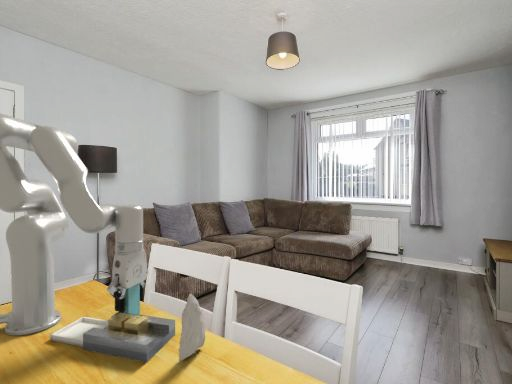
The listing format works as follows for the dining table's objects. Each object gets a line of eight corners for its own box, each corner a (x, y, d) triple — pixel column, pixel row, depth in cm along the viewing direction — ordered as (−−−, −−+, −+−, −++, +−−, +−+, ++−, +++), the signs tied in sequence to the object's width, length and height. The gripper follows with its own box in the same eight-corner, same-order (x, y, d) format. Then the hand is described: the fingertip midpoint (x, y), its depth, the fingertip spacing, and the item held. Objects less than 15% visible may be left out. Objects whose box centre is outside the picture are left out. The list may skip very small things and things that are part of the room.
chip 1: (108, 335, 70) (108, 319, 70) (119, 327, 74) (119, 312, 74) (121, 337, 69) (121, 321, 69) (132, 329, 73) (132, 314, 73)
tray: (50, 340, 71) (50, 334, 71) (83, 321, 81) (83, 316, 81) (84, 347, 68) (84, 341, 68) (115, 326, 78) (114, 321, 78)
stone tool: (184, 367, 61) (184, 301, 61) (174, 363, 63) (174, 298, 62) (209, 347, 69) (209, 288, 68) (199, 344, 70) (199, 285, 70)
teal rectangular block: (119, 321, 81) (119, 285, 81) (131, 313, 86) (131, 279, 86) (128, 322, 80) (128, 286, 80) (140, 314, 85) (140, 280, 85)
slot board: (83, 349, 67) (82, 333, 67) (119, 325, 79) (119, 311, 79) (147, 362, 63) (147, 345, 63) (175, 334, 74) (175, 319, 74)
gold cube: (124, 338, 69) (124, 322, 69) (135, 329, 73) (134, 314, 73) (137, 340, 68) (137, 324, 68) (148, 332, 72) (148, 316, 72)
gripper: (118, 254, 73) (118, 321, 73) (158, 241, 90) (158, 295, 90) (95, 252, 75) (95, 317, 75) (138, 240, 92) (138, 292, 92)
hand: (129, 304), depth 83 cm, fingers open, 7 cm apart
